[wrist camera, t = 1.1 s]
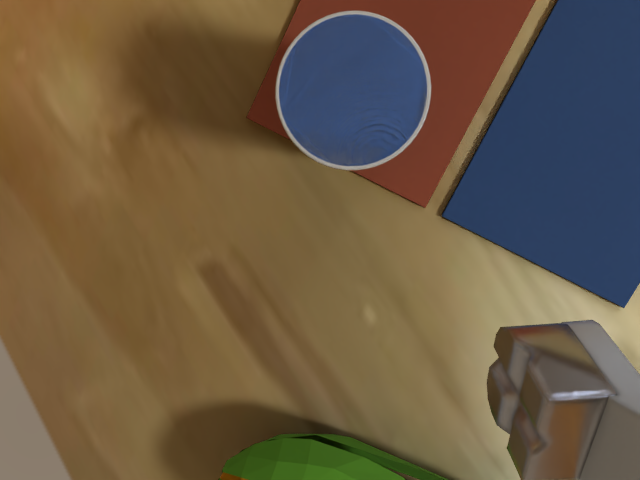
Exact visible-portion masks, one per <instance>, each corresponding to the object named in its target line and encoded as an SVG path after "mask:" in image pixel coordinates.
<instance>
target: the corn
mask: <svg viewBox="0 0 640 480" xmlns="http://www.w3.org/2000/svg"><path fill="white" fill-rule="evenodd" d="M384 467H385V468H384ZM386 468H388V469H391V470H394V471H397V472H400V473H403V474H406V475H409V476H412V477H414V478H417V479H420V480H449V479H446V478H444V477H442V476H439V475H437V474H435V473H432V472H430V471H428V470H425V469H423V468H421V467H418V466H416V465H414V464H412V463H409V462H407V461H405V460H402V459H400V458H398V457H395V456H393V455H391V454H388V453H386V452H384V451H381V450H379V449H377V448H374V447H372V446H370V445H367V444H365V443H363V442H360V441H358V440H356V439H354V438H351V437H346V436H341V435H335V434H282V435H277V436H275V437H273V438H270V439H268V440H265V441H263V442H261V443H256V444H253V445H252V446H250V447H248V448H246V449H244V450H242V451H241V452H240V453H239V454H237V455H235V456H234V457H232V458H230V459H229V460H227V462H226V464H225V466H224V468H223V470H222V472H223V473H222V475H221V477H220V478H219V479H218V480H406V479H404V478H403V477H402V476H400V475H398V474H396V473H394V472H392V471H390V470H388V469H386Z"/></svg>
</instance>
